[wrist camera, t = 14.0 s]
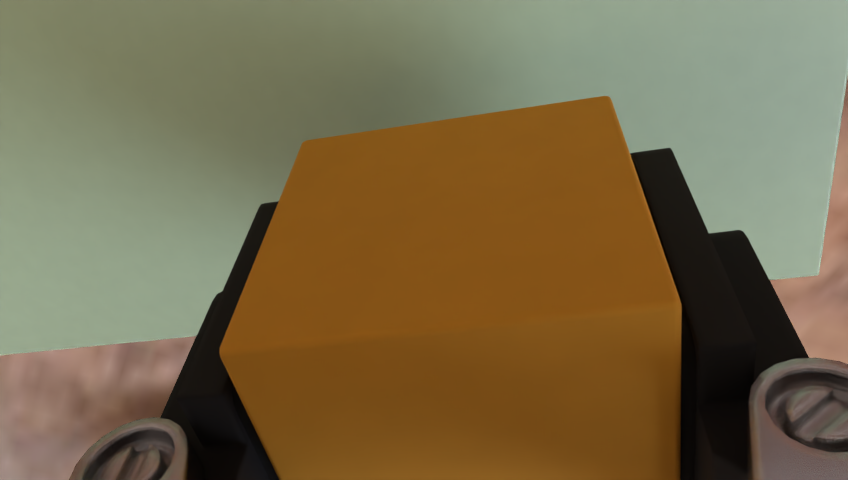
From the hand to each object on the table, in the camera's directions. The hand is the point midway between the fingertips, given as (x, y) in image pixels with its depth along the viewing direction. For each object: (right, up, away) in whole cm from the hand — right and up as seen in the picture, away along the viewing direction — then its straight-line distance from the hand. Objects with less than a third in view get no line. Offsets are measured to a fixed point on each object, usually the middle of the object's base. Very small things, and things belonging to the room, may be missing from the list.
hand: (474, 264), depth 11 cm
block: (0, 0, 0) cm, 1 cm away
